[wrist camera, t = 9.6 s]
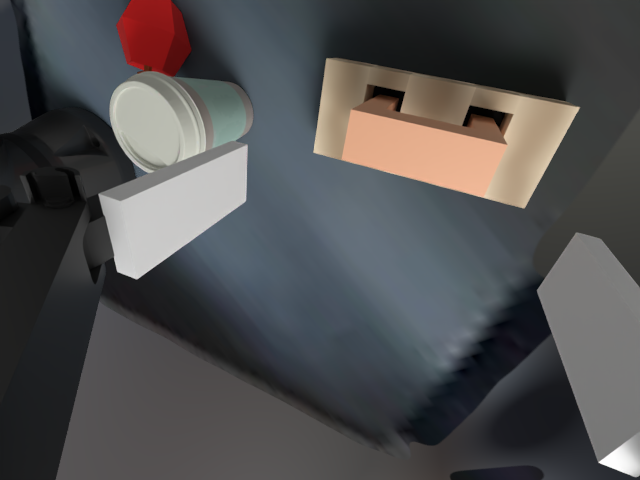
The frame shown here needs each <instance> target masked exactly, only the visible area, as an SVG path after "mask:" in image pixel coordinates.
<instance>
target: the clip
mask: <svg viewBox="0 0 640 480" xmlns="http://www.w3.org/2000/svg"><path fill="white" fill-rule="evenodd" d="M398 101H399V98H395V97H390V96H385V95H381V94H380V95H378V96H376V97H374V98H372V99H370V100H368V101H366V102H364V103H362V104H360V105H358V106H356V107H355V108H353V109H351V112H350V117H349V123H348V128H347V133H346V139H345V144H344V149H343V154H342V160H345V161H349V162H353V163H356V164H360V165H364V166H368V167H372V168H375V169H379V170H383V171H387V172H390V173H394V174H398V175H402V176H405V177H409V178H413V179H417V180H421V181H424V182H428V183H432V184H436V185H439V186H443V187H447V188H451V189H455V190H458V191H462V192H466V193H470V194H473V195H477V196H481V197H484V195H485V193H486V191H487V189H488V187H489V185H490V182H491V180H492V178H493V176H494V174H495V172H496V169H497V167H498V165H499V163H500V161H501V159H502V157H503V154H504V152H505V150H506V148H507V146H508V144H507V143H506V141H505V139H504V137H503V135H502V134H501V132H500V130H499V128H498V126H497V125H496V123H495V121H494V119H493V118H489V117H484V116H480V115H475V114H471V116H470V119H469V121H468V124H467V127H464V126H460V125H455V124H451V123H446V122H442V121H437V120H433V119H428V118H424V117H419V116H415V115H410V114H406V113H401V112H396V108H397V105H398Z"/></svg>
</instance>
